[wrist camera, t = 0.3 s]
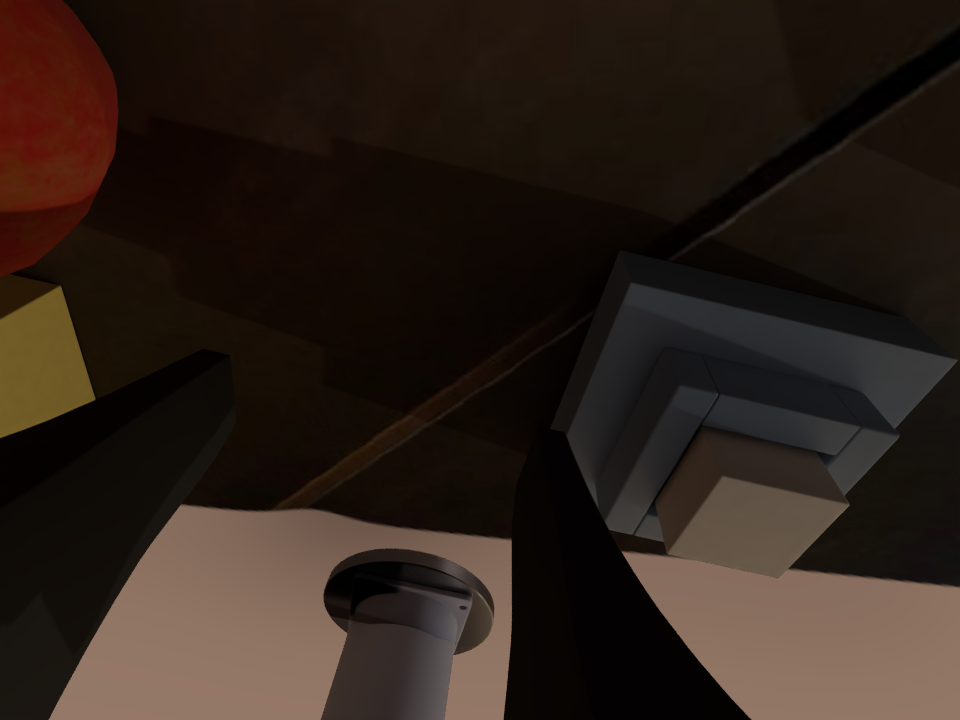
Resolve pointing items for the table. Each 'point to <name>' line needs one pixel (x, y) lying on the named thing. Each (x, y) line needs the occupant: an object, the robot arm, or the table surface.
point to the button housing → (37, 355)
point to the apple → (49, 127)
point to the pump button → (746, 502)
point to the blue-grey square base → (731, 379)
